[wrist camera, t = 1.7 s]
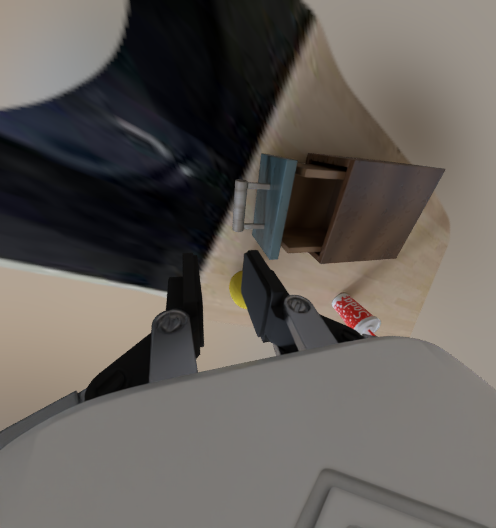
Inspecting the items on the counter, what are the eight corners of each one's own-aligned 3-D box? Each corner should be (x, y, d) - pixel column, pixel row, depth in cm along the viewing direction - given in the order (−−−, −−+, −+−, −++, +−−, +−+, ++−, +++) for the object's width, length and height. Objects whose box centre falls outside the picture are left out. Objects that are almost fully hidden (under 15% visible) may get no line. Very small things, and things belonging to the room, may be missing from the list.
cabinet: (289, 235, 35) (320, 264, 27) (307, 152, 28) (355, 159, 20) (352, 233, 38) (396, 258, 31) (381, 160, 32) (446, 168, 24)
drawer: (225, 235, 30) (237, 261, 24) (229, 150, 25) (245, 155, 18) (319, 233, 35) (349, 255, 29) (341, 161, 29) (385, 168, 23)
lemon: (234, 258, 34) (246, 287, 28) (260, 267, 37) (277, 296, 30) (220, 282, 36) (228, 315, 30) (245, 290, 39) (258, 321, 32)
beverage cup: (355, 289, 48) (408, 337, 37) (346, 308, 51) (392, 357, 40) (333, 292, 46) (383, 342, 35) (325, 311, 50) (368, 363, 38)
